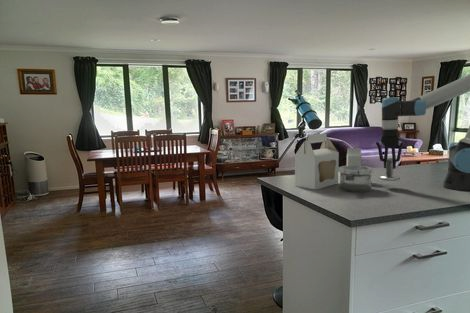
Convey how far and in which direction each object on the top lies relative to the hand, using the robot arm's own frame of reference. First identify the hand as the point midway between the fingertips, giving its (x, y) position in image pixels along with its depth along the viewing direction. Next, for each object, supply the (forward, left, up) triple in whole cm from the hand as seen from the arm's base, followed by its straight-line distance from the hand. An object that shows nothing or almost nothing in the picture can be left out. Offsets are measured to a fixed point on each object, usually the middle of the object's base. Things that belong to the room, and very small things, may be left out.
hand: (389, 174), depth 175 cm
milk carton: (+21, -10, -7) cm, 24 cm away
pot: (+15, +12, -7) cm, 20 cm away
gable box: (+36, +8, -7) cm, 37 cm away
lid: (0, 0, -2) cm, 2 cm away
